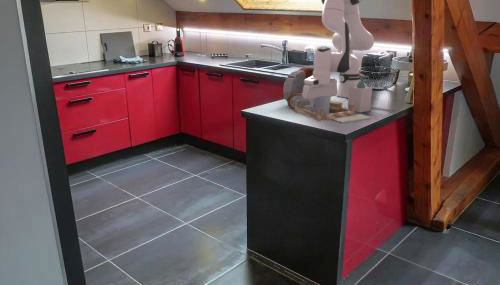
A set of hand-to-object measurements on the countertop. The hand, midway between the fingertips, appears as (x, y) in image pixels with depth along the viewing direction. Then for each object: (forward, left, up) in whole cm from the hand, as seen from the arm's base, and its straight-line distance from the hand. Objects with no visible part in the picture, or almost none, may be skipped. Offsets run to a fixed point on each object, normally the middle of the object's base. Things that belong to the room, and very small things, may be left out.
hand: (319, 106), depth 220 cm
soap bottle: (-25, +3, -4) cm, 26 cm away
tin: (+1, -15, -5) cm, 16 cm away
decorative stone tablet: (-8, -27, -4) cm, 28 cm away
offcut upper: (-9, 0, -2) cm, 9 cm away
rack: (-4, 0, -4) cm, 6 cm away
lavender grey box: (0, 0, -4) cm, 4 cm away
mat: (-9, +15, -4) cm, 18 cm away
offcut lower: (-9, 0, -5) cm, 10 cm away
